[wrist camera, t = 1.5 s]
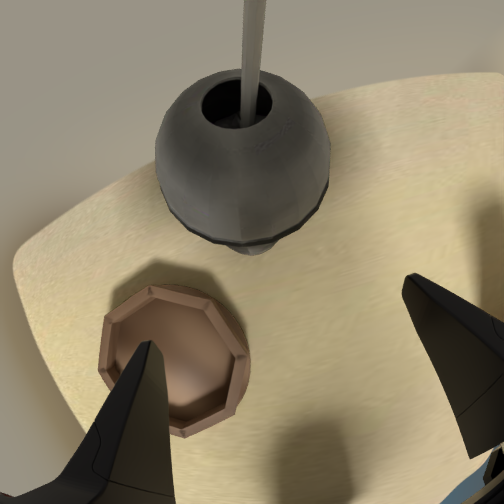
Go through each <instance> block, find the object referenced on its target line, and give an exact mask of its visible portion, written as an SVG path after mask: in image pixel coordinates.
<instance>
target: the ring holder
mask: <svg viewBox="0 0 504 504" xmlns="http://www.w3.org/2000/svg"><path fill="white" fill-rule="evenodd" d="M146 340H152V341H154V343H155V344H156V345H157V347H158V348H159V349H160V351H161V352H162V354H163V357H164V365H165V374H166V382H167V390H168V402H169V431H170V434H172V435H175V436H178V437H182V438H187V437H189V436H191V435H193V434H196V433H198V432H200V431H202V430H204V429H207V428H209V427H211V426H213V425H215V424H217V423H219V422H221V421H223V420H225V419H227V418H229V417H231V416H233V415H235V411H236V407H237V406H238V404H239V403H240V401H241V400H242V398H243V396H244V394H245V392H246V389H247V386H248V382H249V376H250V353H249V348H248V344H247V341H246V338H245V336H244V334H243V331H242V329H241V328H240V326H239V324H238V322H237V321H236V320H235V318H234V317H233V316H232V314H231V313H230V312H229V311H228V310H227V309H226V308H225V307H224V306H223V305H222V304H220V303H219V302H218V301H217V300H215V299H214V298H212V297H210V296H209V295H207V294H205V293H203V292H201V291H199V290H196V289H193V288H190V287H185V286H179V285H157V286H154V285H148V286H147V287H145V288H144V289H142V290H141V291H139V292H137V293H135V294H134V295H132V296H131V297H129V298H128V299H127V300H126V301H124V303H122V304H121V305H120V306H118V307H117V308H115V309H114V310H112V311H111V312H110V313H108V314H107V315H105V316H104V322H103V329H102V337H101V345H100V353H99V363H98V372H99V374H100V375H101V377H102V379H103V380H104V382H105V383H106V385H107V387H108V388H109V390H110V391H111V390H112V388H113V387H114V385H115V383H116V382H117V380H118V378H119V376H120V375H121V373H122V371H123V370H124V368H125V366H126V365H127V363H128V361H129V360H130V358H131V356H132V355H133V353H134V352H135V350H136V348H137V347H138V345H139V344H140V342H142V341H146Z"/></svg>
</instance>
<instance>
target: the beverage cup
mask: <svg viewBox="0 0 504 504" xmlns="http://www.w3.org/2000/svg"><path fill="white" fill-rule="evenodd" d="M265 7H266V0H244V13H243V41H242V42H243V43H242V69H234V70H227V71H222V72H218V73H215V74H212V75H210V76H207V77H205V78H203V79H200V80H198V81H197V82H196V83H194V84H193V85H191V86H190V87H189V88H187V89H186V90H185V91H183V92H182V93H181V94H180V96H179V97H178V98H177V99H176V100H175V102H174V103H173V104H172V106H171V107H170V108H169V109H168V111H167V112H166V114H165V116H164V119H163V122H162V124H161V127H160V130H159V133H158V135H157V138H156V146H155V156H156V157H155V160H156V174H157V178H158V180H159V183H160V187H161V191H162V193H163V196H164V198H165V200H166V203H167V205H168V207H169V210H170V212H171V213H172V214H173V215H174V216H175V217H176V218H177V219H178V220H179V221H180V222H181V223H182V224H183V226H184V227H185V228H186V229H187V230H188V231H190V232H192V233H194V234H196V235H198V236H200V237H202V238H204V239H206V240H208V241H210V242H212V243H214V244H221V245H226V246H228V247H229V248H230V249H232V250H234V251H236V252H238V253H240V254H245V255H257V254H261V253H263V252H265V251H267V250H269V249H271V248H272V247H273V246H274V244H275V243H276V242H277V241H278V240H279V239H281V238H283V237H285V236H287V235H289V234H291V233H293V232H295V231H297V230H299V229H300V228H301V227H302V226H303V225H304V224H305V223H306V222H307V221H308V220H309V219H310V218H311V216H312V215H313V214H314V213H315V212H316V211H317V210H318V209H319V206H320V204H321V202H322V200H323V197H324V195H325V193H326V191H327V188H328V185H329V169H330V140H329V137H328V134H327V131H326V128H325V125H324V122H323V119H322V116H321V114H320V113H319V111H318V110H317V108H316V107H315V106H314V104H313V103H312V102H311V101H310V100H309V98H308V97H307V96H306V95H305V93H304V92H303V91H301V90H300V89H299V88H297V87H296V86H294V85H293V84H291V83H289V82H288V81H286V80H285V79H283V78H282V77H280V76H277V75H274V74H271V73H268V72H265V71H261V70H260V62H261V51H262V40H263V28H264V18H265Z"/></svg>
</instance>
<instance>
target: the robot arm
mask: <svg viewBox="0 0 504 504" xmlns="http://www.w3.org/2000/svg"><path fill="white" fill-rule="evenodd" d="M402 298H403V300H404V303H405V305H406V307H407V310H408V312H409V314H410V317H411V319H412V322H413V324H414V327H415V329H416V332H417V334H418V336H419V338H420V340H421V342H422V344H423V346H424V348H425V350H426V352H427V354H428V356H429V358H430V360H431V362H432V364H433V366H434V368H435V371H436V373H437V375H438V377H439V379H440V382H441V384H442V386H443V388H444V391H445V393H446V396H447V398H448V400H449V403H450V405H451V408H452V410H453V413H454V415H455V418H456V421H457V424H458V426H459V429H460V432H461V435H462V438H463V441H464V444H465V447H466V450H467V453H468V456H469V458H470V459H472V458H474V457H476V456H478V455H480V454H482V453H484V452H486V451H488V450H490V449H492V448H494V447H496V446H497V445H499V444H500V446H499V447H498V448H496V449H495V450H494V451H493V452H492V453H491V456H490V459H489V462H488V465H487V468H486V471H485V474H484V476H483V480H484V483H485V487H483V488H482V489H481V490H479V491H478V492H477V493H475V494H474V495H473V496H471V497H470V498H468V499H467V500H466V501H464V502H463V503H461V504H504V323H503V322H501V321H500V320H498V319H496V318H495V317H493V316H491V315H490V314H488V313H486V312H485V311H483V310H481V309H480V308H478V307H476V306H475V305H473V304H471V303H470V302H468V301H466V300H464V299H463V298H461V297H459V296H457V295H456V294H454V293H452V292H450V291H449V290H447V289H445V288H443V287H441V286H440V285H438V284H436V283H434V282H432V281H430V280H429V279H427V278H425V277H423V276H421V275H419V274H417V273H413V274H410V275H407V276H406V277H405V280H404V284H403V288H402ZM174 496H175V494H174V485H173V475H172V463H171V449H170V431H169V402H168V390H167V382H166V374H165V365H164V357H163V354H162V352H161V351H160V349H159V348H158V347H157V345H156V344H155V343H154V341H152V340H146V341H142V342H140V344H139V345H138V347H137V348H136V350H135V352H134V353H133V355H132V356H131V358H130V360H129V361H128V363H127V365H126V366H125V368H124V370H123V371H122V373H121V375H120V376H119V378H118V380H117V382H116V383H115V385H114V387H113V388H112V390H111V392H110V393H109V395H108V397H107V399H106V400H105V402H104V404H103V406H102V407H101V409H100V411H99V413H98V415H97V416H96V418H95V422H93V423H92V425H91V427H90V429H89V431H88V432H87V434H86V436H85V438H84V439H83V441H82V442H81V444H80V446H79V447H78V449H77V450H76V452H75V453H74V455H73V456H72V458H71V459H70V461H69V462H68V464H67V465H66V467H65V468H64V470H63V471H62V473H61V474H60V475H59V476H58V477H57V478H56V479H55V480H53V481H52V482H50V483H48V484H45V485H43V486H41V487H39V488H37V489H34V490H32V491H29V492H27V493H25V494H22V495H20V496H17V497H13V496H10V495H8V494H5V493H2V492H0V504H176V501H175V497H174Z"/></svg>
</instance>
